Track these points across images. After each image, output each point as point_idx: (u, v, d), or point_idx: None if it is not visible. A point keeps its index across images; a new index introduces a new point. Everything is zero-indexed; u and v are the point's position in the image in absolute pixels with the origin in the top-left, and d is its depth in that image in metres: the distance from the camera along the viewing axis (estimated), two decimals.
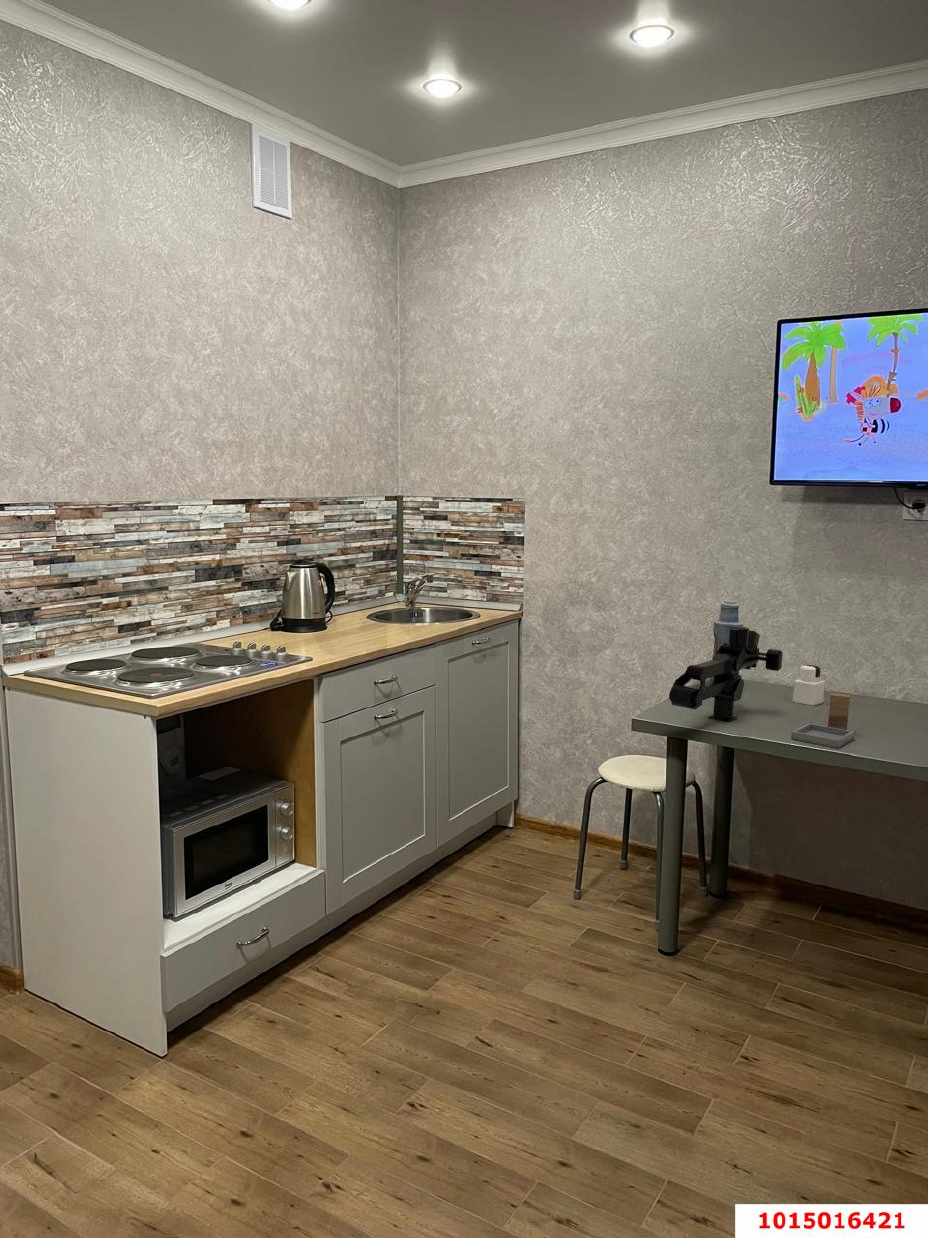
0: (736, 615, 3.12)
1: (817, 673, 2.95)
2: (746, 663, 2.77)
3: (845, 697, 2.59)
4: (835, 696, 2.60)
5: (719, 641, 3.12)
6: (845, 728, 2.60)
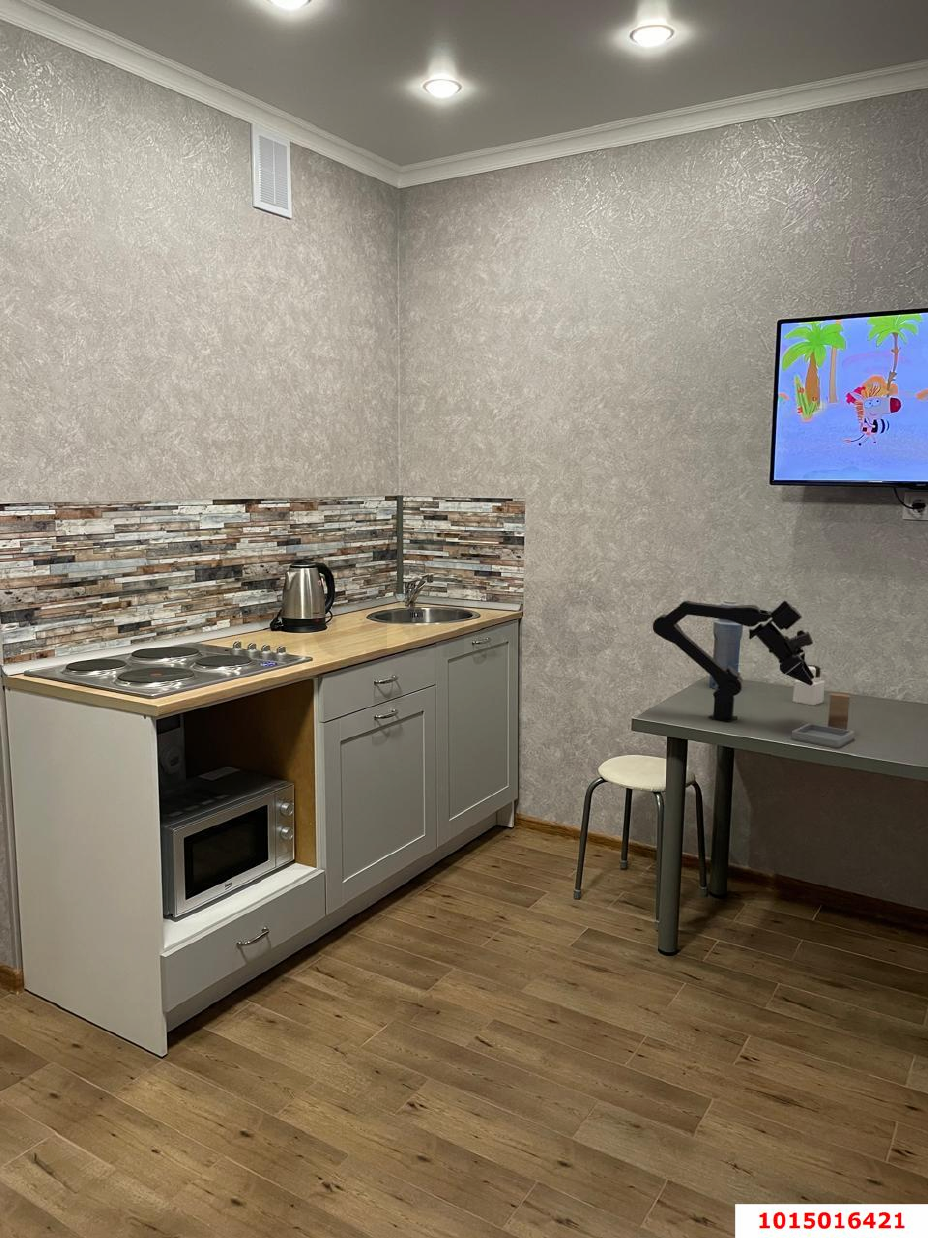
0: None
1: (817, 673, 2.95)
2: (767, 637, 2.65)
3: (845, 697, 2.59)
4: (835, 696, 2.60)
5: (719, 641, 3.12)
6: (845, 728, 2.60)
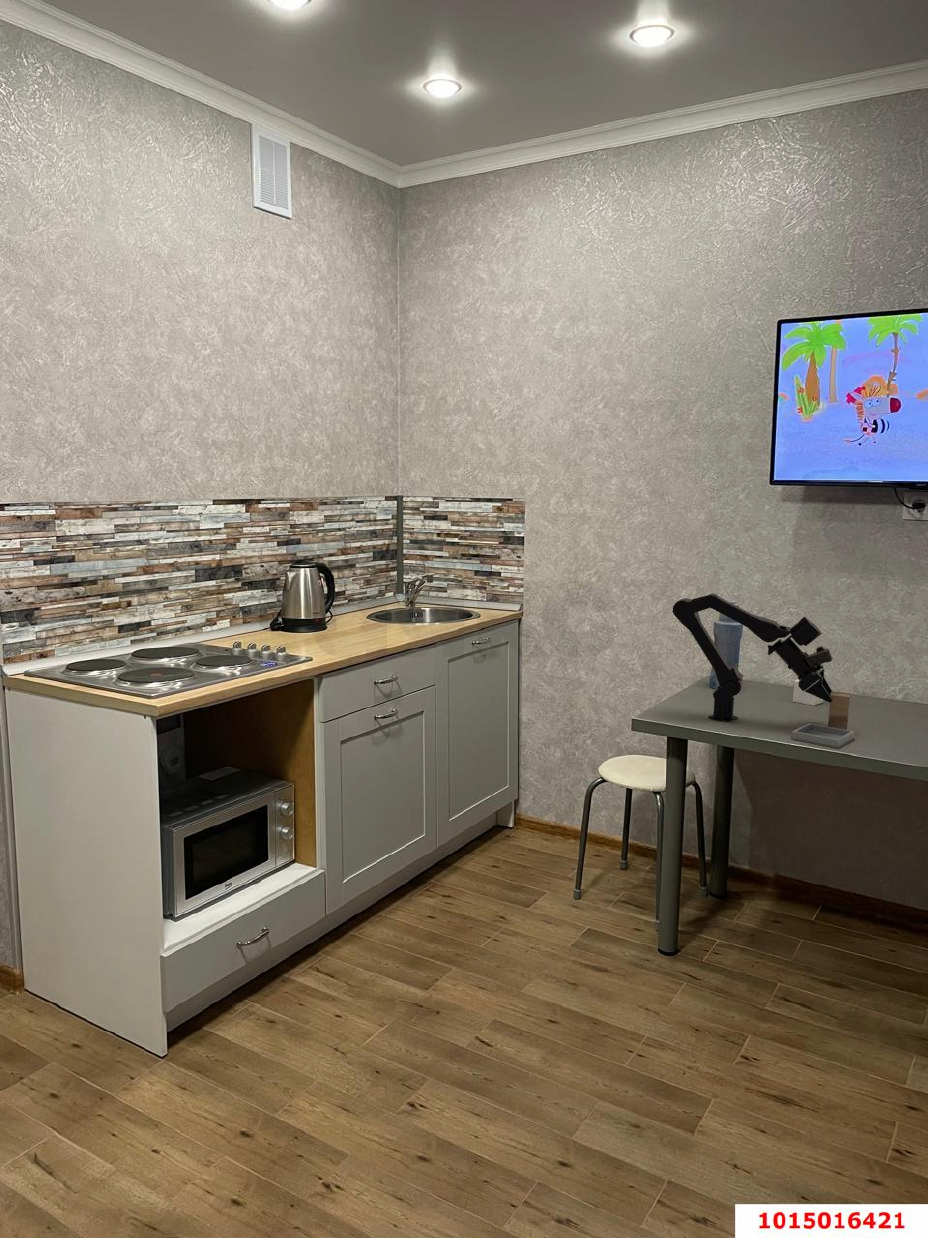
0: None
1: None
2: (786, 653, 2.64)
3: (845, 697, 2.59)
4: (835, 696, 2.60)
5: (719, 641, 3.12)
6: (845, 728, 2.60)
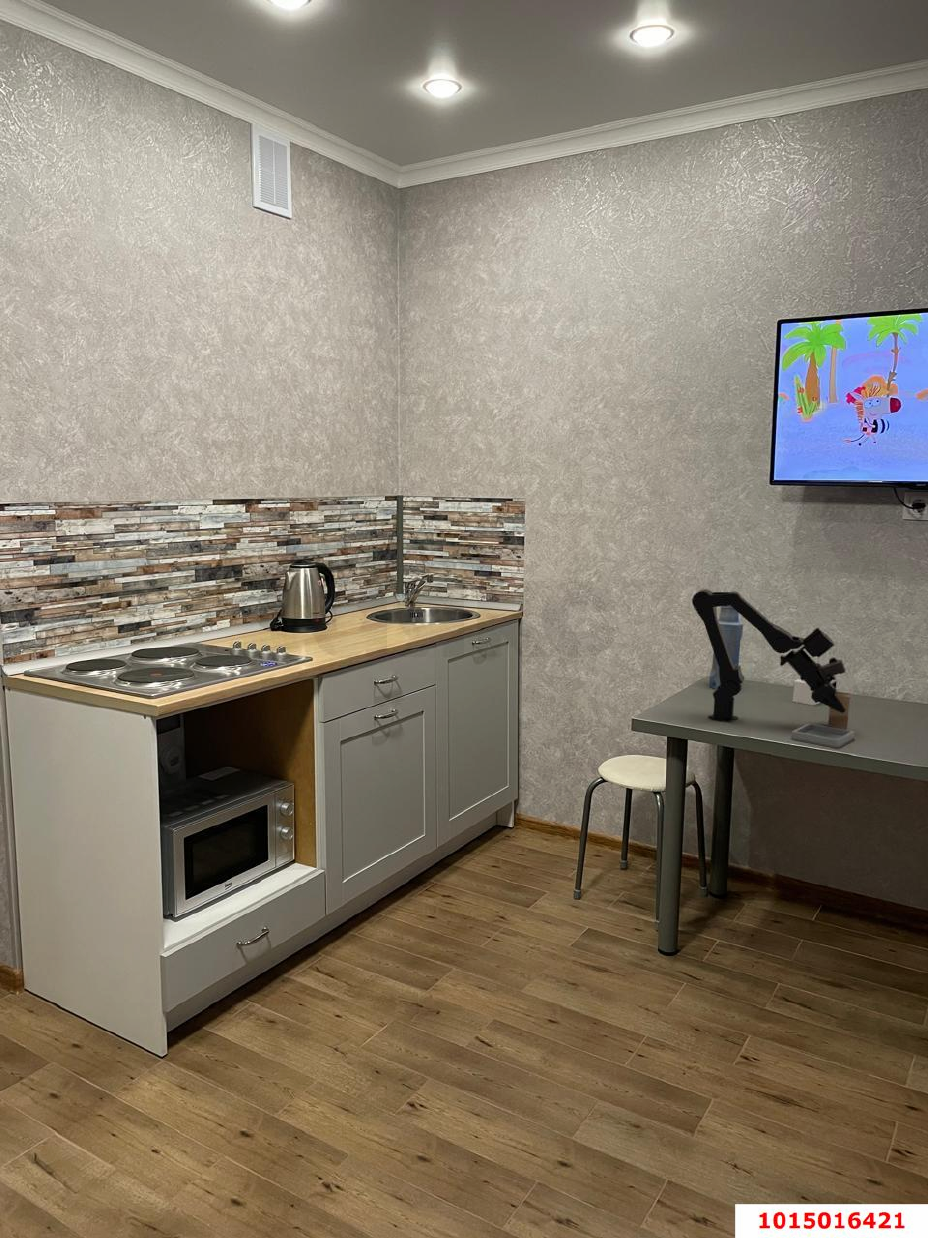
0: (736, 615, 3.12)
1: None
2: (798, 664, 2.63)
3: (845, 697, 2.59)
4: None
5: None
6: (845, 728, 2.60)
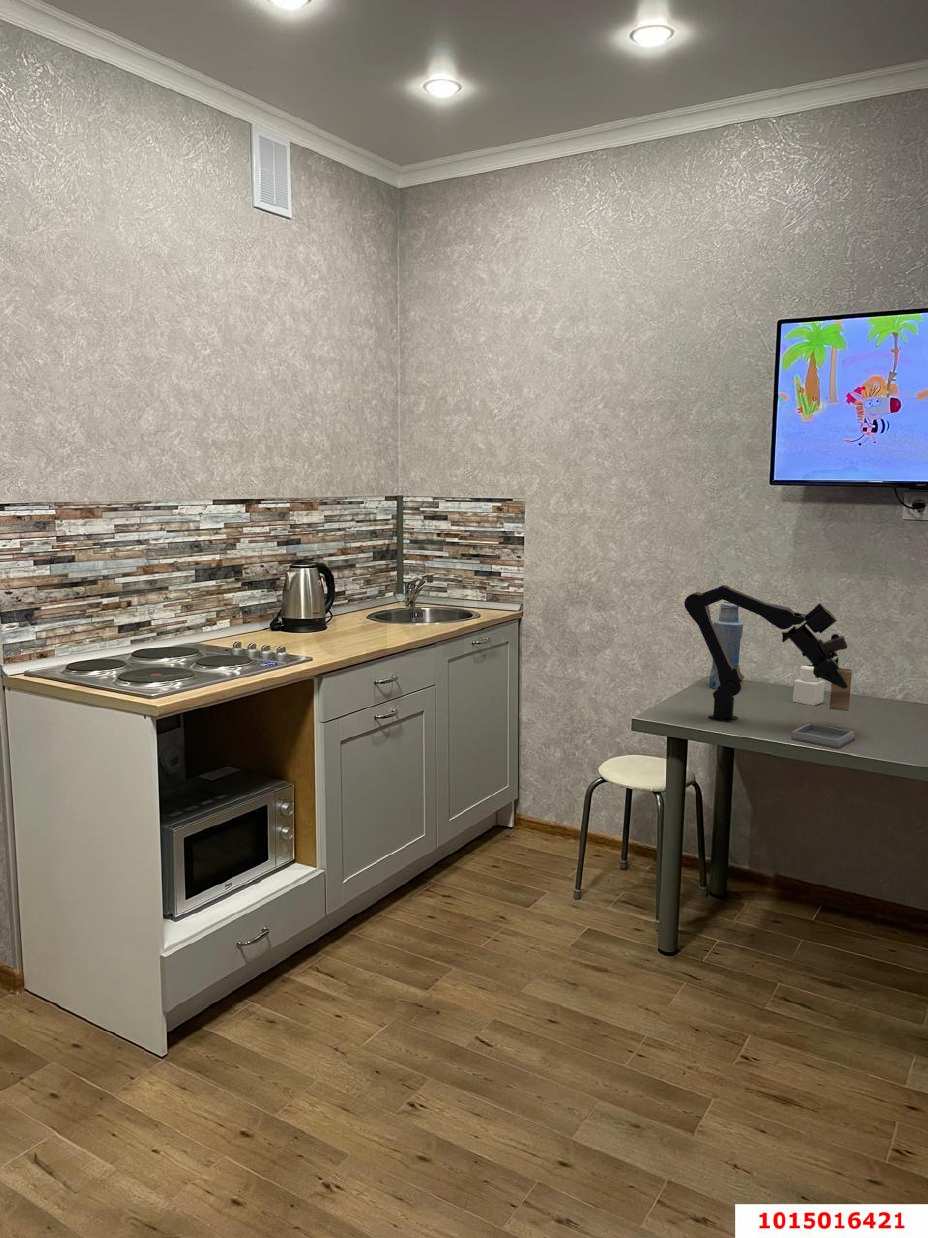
0: (736, 615, 3.12)
1: None
2: (800, 640, 2.62)
3: (847, 673, 2.58)
4: None
5: None
6: (847, 704, 2.59)
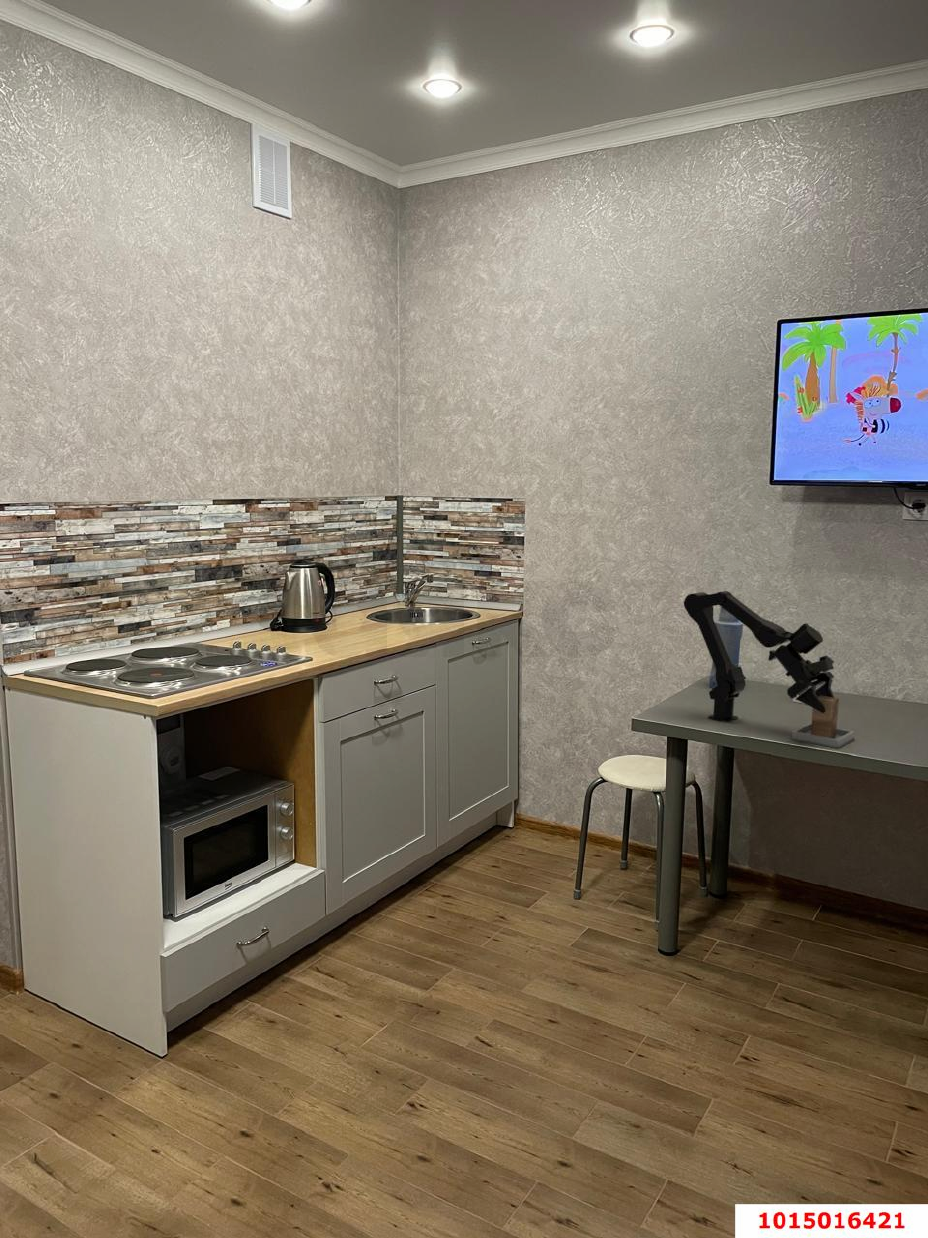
0: None
1: None
2: (783, 659, 2.58)
3: (827, 701, 2.51)
4: None
5: None
6: (827, 733, 2.52)
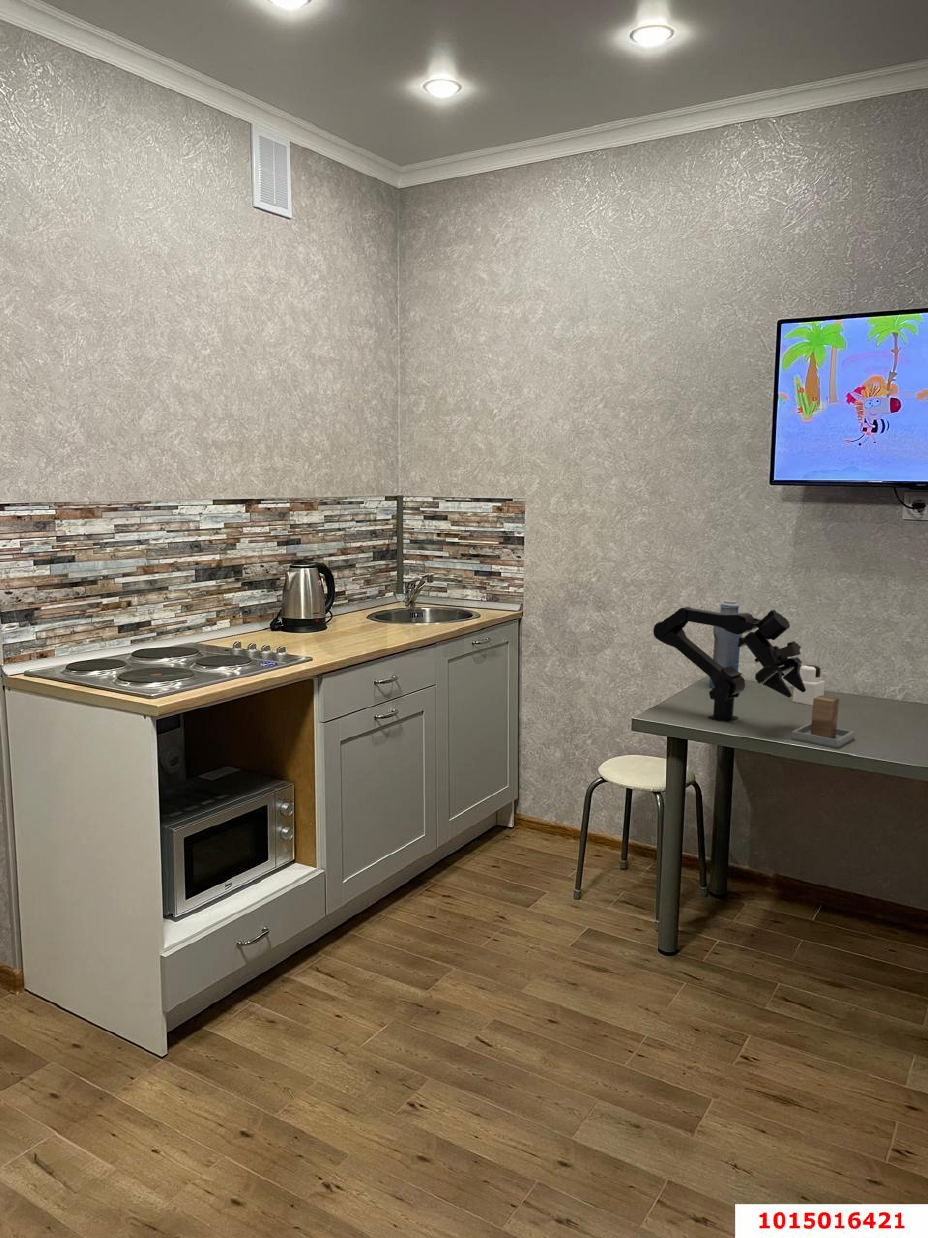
0: None
1: (817, 673, 2.95)
2: (752, 646, 2.64)
3: (827, 701, 2.51)
4: (818, 699, 2.53)
5: (719, 641, 3.12)
6: (827, 733, 2.52)
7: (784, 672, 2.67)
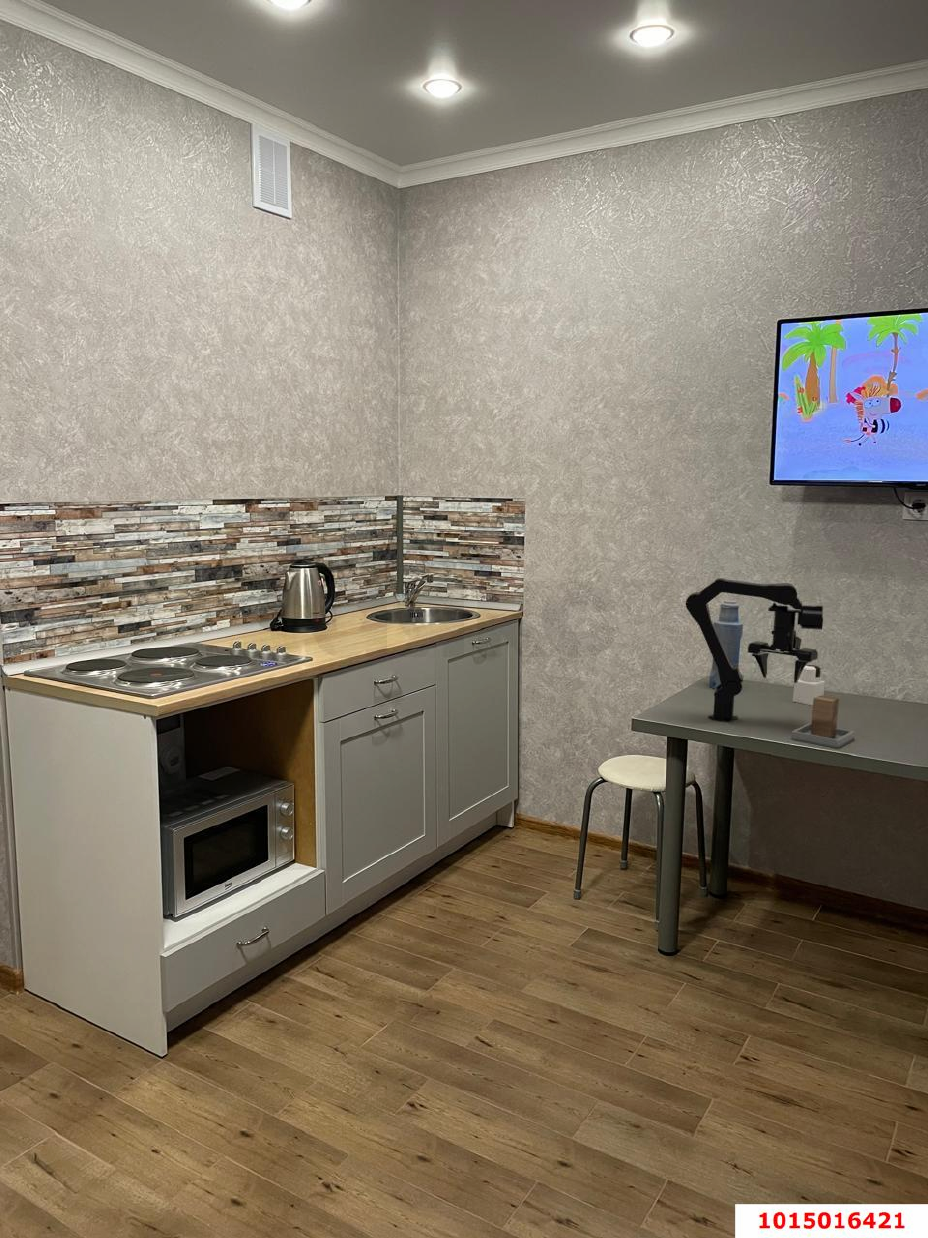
0: (736, 615, 3.12)
1: (817, 673, 2.95)
2: (783, 620, 2.64)
3: (827, 701, 2.51)
4: (818, 699, 2.53)
5: None
6: (827, 733, 2.52)
7: (761, 652, 2.70)
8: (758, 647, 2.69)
